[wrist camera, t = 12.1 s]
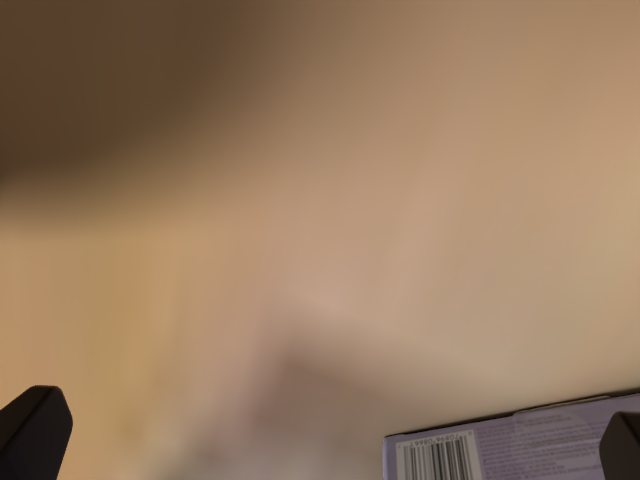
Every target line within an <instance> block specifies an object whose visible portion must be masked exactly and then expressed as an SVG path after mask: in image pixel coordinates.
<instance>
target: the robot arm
mask: <svg viewBox="0 0 640 480" xmlns="http://www.w3.org/2000/svg"><path fill="white" fill-rule="evenodd" d="M72 426H73V420H72V415H71V412H70V410H69V407H68V405H67V402H66V400H65V397H64V395H63V392H62V390H61V389H60V388H59V387H58V386H48V385H35V386H32V387H30V388H29V389H27V390H26V391H25V392H23V393H22V394H21V395H19V396H18V397H17V398H15V399H14V400H13V401H12V402H10V403H9V404H8V405H6V406H5V407H4V408H2V409H1V410H0V480H56V479H57V476H58V473H59V470H60V467H61V464H62V460H63V457H64V454H65V451H66V448H67V445H68V441H69V438H70V435H71V432H72ZM599 456H600V461H601V465H602V469H603V473H604V477H605V480H640V412H638V411H616V412H615V413H613V415H612V417H611V419H610V421H609V423H608V425H607V427H606V429H605V431H604V434H603V436H602V438H601V440H600V444H599Z"/></svg>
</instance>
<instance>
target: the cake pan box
mask: <svg viewBox="0 0 640 480" xmlns="http://www.w3.org/2000/svg"><path fill="white" fill-rule="evenodd" d="M616 411H638V412H640V393H638V394H633V395H627V396H622V397H616V398H611V397H609V396H601V397H595V398H589V399H584V400H578V401H573V402H567V403H561V404H553V405H550V406H545V407H539V408H534V409H529V410H524V411H519V412H516V413H514V414H513V415H512V416H510V417H505V418H499V419H493V420H488V421H482V422H477V423H470V424H464V425H459V426H454V427H448V428H442V429H436V430H430V431H425V432H419V433H414V434H407V435H404V434H399V435H394V436H389V437H385V438H384V441H383V480H605V477H604V473H603V469H602V465H601V461H600V456H599V444H600V440H601V438H602V436H603V434H604V431H605V429H606V427H607V425H608V423H609V421H610V419H611V417H612V415H613V413H615V412H616Z"/></svg>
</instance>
